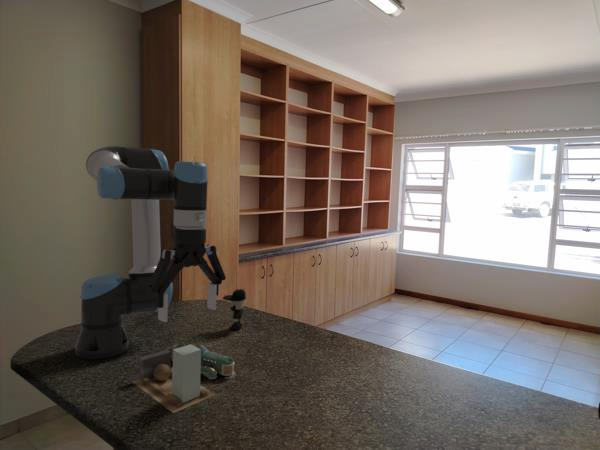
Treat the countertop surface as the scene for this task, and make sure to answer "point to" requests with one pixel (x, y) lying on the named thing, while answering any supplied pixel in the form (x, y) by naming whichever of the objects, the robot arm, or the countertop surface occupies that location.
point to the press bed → (163, 383)
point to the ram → (186, 373)
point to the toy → (236, 307)
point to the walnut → (162, 372)
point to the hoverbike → (212, 363)
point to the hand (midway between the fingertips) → (188, 314)
